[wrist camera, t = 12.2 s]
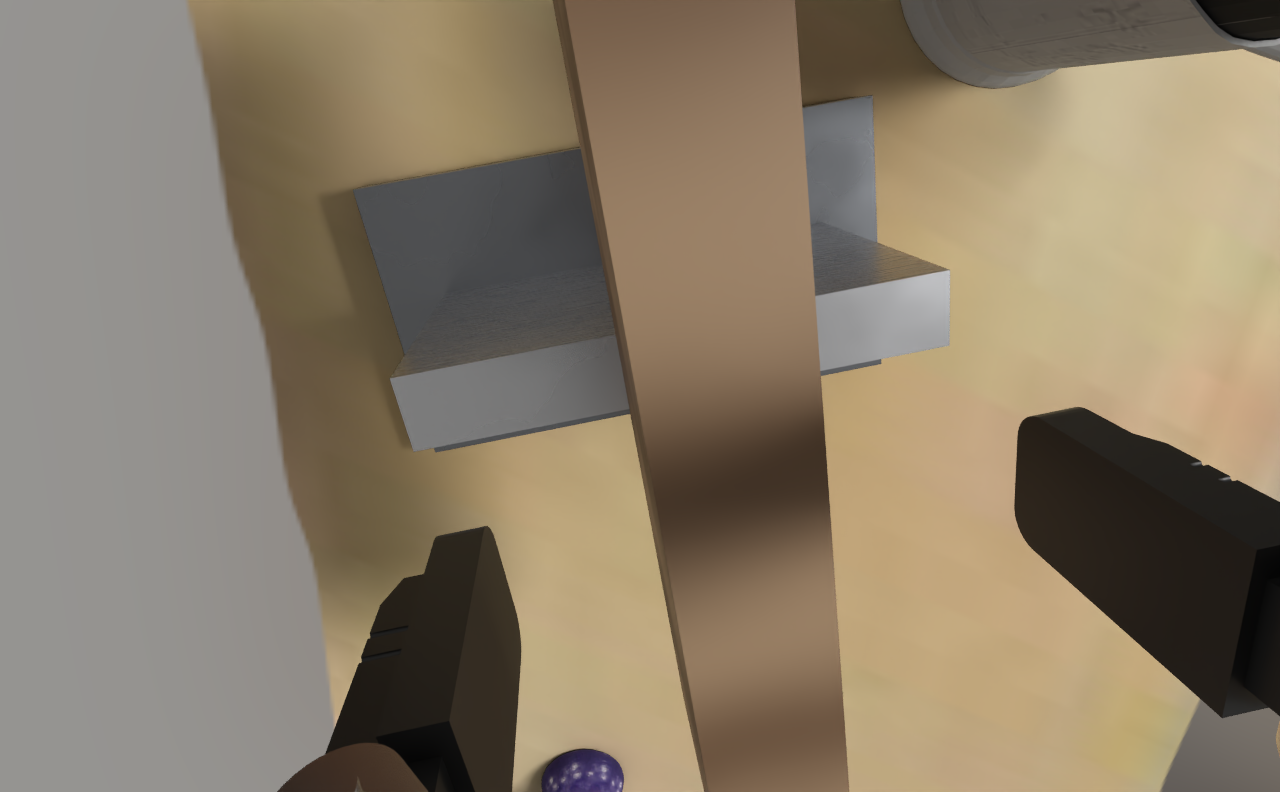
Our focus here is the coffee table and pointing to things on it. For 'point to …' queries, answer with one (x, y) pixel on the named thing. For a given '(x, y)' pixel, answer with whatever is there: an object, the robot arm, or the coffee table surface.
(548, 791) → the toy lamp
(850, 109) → the ridge stand
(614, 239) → the brown wooden plank
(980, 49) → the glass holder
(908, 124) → the coffee table surface
